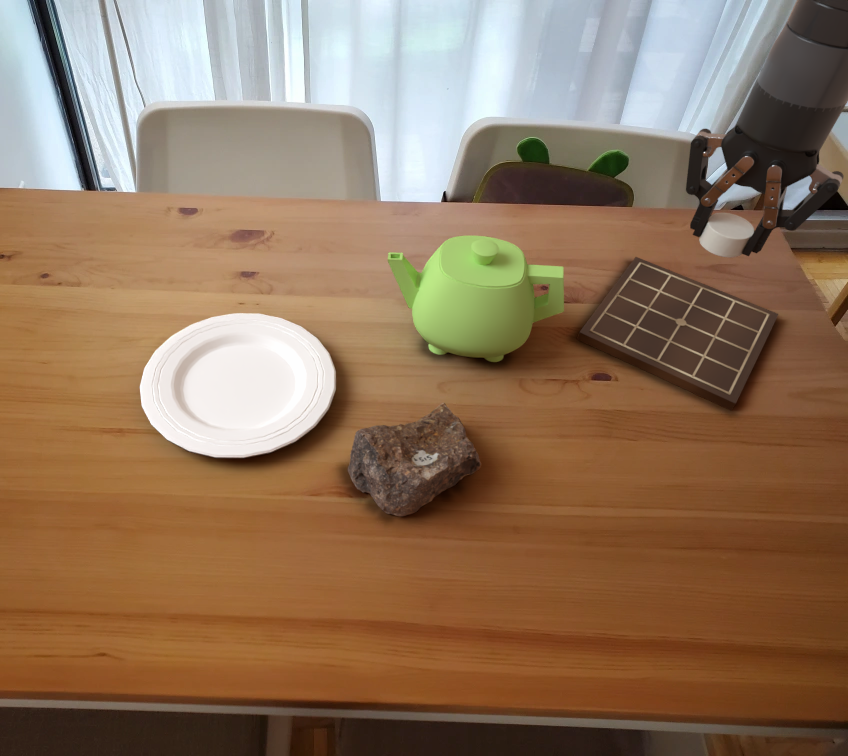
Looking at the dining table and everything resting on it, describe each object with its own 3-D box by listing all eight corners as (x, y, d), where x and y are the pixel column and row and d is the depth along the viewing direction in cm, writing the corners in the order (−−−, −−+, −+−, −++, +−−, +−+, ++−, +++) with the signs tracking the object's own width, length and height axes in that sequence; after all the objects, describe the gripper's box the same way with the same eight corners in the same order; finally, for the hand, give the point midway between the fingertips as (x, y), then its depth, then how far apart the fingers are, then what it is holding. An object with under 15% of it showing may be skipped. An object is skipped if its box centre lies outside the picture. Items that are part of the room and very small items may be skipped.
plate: (101, 401, 77) (97, 389, 75) (235, 299, 88) (234, 287, 87) (246, 504, 68) (245, 493, 67) (374, 378, 80) (375, 366, 78)
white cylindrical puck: (749, 242, 76) (760, 223, 74) (737, 263, 74) (747, 244, 72) (706, 225, 78) (715, 207, 76) (692, 246, 75) (702, 227, 74)
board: (774, 321, 88) (779, 313, 87) (731, 410, 78) (736, 402, 77) (632, 263, 95) (636, 255, 94) (576, 339, 85) (579, 331, 84)
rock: (449, 422, 76) (454, 381, 71) (496, 475, 71) (505, 435, 66) (344, 474, 71) (342, 435, 67) (387, 534, 67) (388, 496, 62)
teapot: (374, 360, 82) (381, 274, 72) (389, 285, 91) (397, 199, 81) (553, 385, 80) (583, 299, 70) (550, 305, 89) (577, 220, 79)
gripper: (709, 75, 64) (644, 233, 76) (885, 127, 58) (784, 288, 71) (733, 47, 68) (668, 201, 80) (900, 93, 62) (802, 250, 75)
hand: (723, 241), depth 76 cm, fingers closed on white cylindrical puck, 4 cm apart
